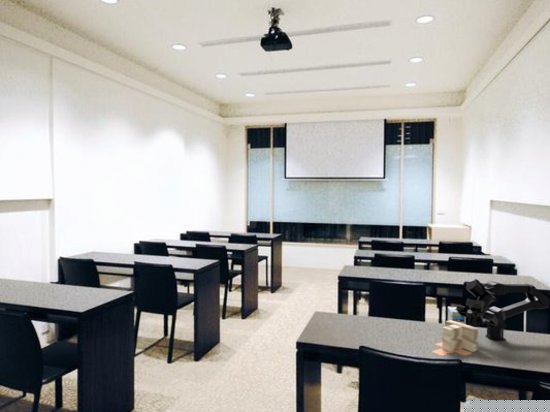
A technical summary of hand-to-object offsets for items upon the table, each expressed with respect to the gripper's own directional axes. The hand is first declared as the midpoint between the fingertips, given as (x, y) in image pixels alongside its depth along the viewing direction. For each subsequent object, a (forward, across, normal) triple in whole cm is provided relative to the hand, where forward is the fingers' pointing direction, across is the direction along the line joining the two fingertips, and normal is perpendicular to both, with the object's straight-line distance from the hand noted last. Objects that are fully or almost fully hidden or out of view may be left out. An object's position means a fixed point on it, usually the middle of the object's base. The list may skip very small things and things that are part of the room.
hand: (468, 329), depth 184 cm
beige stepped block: (+12, 0, -3) cm, 13 cm away
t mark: (+17, 0, -7) cm, 18 cm away
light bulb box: (-4, -16, +14) cm, 21 cm away
